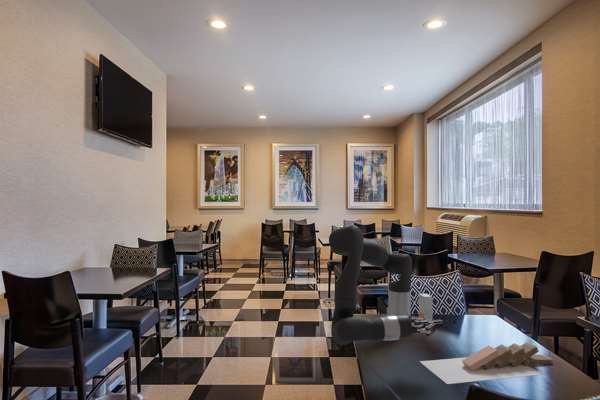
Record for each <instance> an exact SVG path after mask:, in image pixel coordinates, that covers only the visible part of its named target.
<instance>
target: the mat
mask: <svg viewBox="0 0 600 400" xmlns="http://www.w3.org/2000/svg"><path fill="white" fill-rule="evenodd" d="M468 357H469V356H466V357H457V358H456V357H455V358H445V359H433V360H420V361H419V363H421V364H422V365H423V366H424V367H426V368H427V369H428V370H429V371H430V372H431V373H433V374H434V375H435V376H437V377H438V378H439V379H440V380H442V382H444V383H445V384H446V385H453V384H454V385H455V384H463V383H472V382H482V381H484V382H485V381H491V380H501V379H512V378H520V377H530V376H531V377H532V376H540V375H543V373H542V372H540V371H538V370H536V369H535V368H533V367H532V366H524V365H522V364H520V363H519V364H518V365H516V366H514V367H512V366H510V365H508V364H507V365H505V366H503V367H502V368H500V369H499V368H497V367H496V366H492V367H490V368H488V369H487V370H485V369H484V368H482V367H479V368H477V369H475V370H474V371H471V370H469V369H468V368H466V367H465V366H464V364H463V362H462V360H464V359H466V358H468Z"/></svg>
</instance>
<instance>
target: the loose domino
mask: <svg viewBox="0 0 600 400" xmlns="http://www.w3.org/2000/svg"><path fill="white" fill-rule="evenodd" d="M494 348H495V347H492V346H490V345H487V346H485V347H484V348H482V349H480V350H478V351H475V352H474V353H473V354H471V355H469V356H467V357H468V358H466V359H464V360H462V362H463V364H464V366H465V367H466V368H468V369H469V370H471V371H474V370H475V369H477V368H479V367H480V366H482V365H484V364H486V363H487V362H489V361H491V360H492V359H494V358H496V357H498V356H499V353H498V351H497V350H496V349H494Z"/></svg>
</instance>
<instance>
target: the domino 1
mask: <svg viewBox="0 0 600 400" xmlns="http://www.w3.org/2000/svg"><path fill="white" fill-rule="evenodd" d="M508 347H509V346H506V345H504V344H500V345H498V346H496V347H493V348H494V349H496V350H497V351H498V353H499V356H498V357H496V358H494V359H492V360H491V361H489V362H487V363H486V364H484V365H482V366H480V367H482V368H484V369H485V370H487V369H488V368H490V367H492V366H494V365H495V364H497V363H499V362H500V361H502V360H504V359H505V358H507V357H509V356H510V355H512V351H511V349H510V348H508Z"/></svg>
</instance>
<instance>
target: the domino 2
mask: <svg viewBox="0 0 600 400" xmlns="http://www.w3.org/2000/svg"><path fill="white" fill-rule="evenodd" d="M507 347H508V348H510V349H511V351H512V355H510V356H509V357H507V358H505V359H504V360H502V361H500V362H499V363H497V364H495V365H494V366H496V367H497V368H499V369H500V368H502V367H503V366H505V365H507V364H508V363H510V362H512V361H513V360H515V359H517V358H518V357H520V356H522V355H523V354H525V350H524V348H523V347H521V345H519V344H517V343H512V344H511V345H509V346H507Z"/></svg>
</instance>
